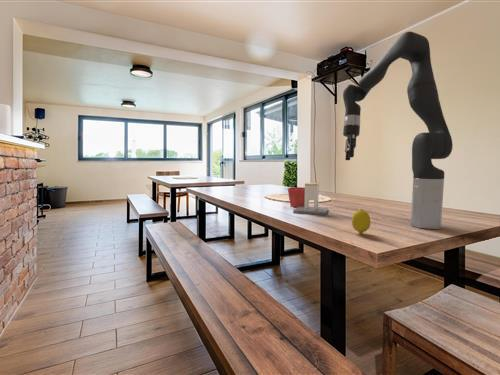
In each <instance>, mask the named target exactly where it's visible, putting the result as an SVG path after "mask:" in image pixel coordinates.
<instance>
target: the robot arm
mask: <svg viewBox="0 0 500 375" xmlns="http://www.w3.org/2000/svg"><path fill="white" fill-rule="evenodd" d="M431 58H432V57H431V48H430V41H429V40H428V38H427V37H426V36H424V35H422V34H420V33H418V32H413V31H406V32H404V33H402V34H401V35H400V36H399V37H398V38H397V39H396V40H395V41H394V42H393V43H392V44H391V46H390V47H389V48H388V49H387V50H386V52H385V53H384V54H383V55H382V56H381V58H380V59H379V60H378V61H377V62H376V63H375V64H374V66H373V67H371V68H370V69H369V70H368V71H367V72H366V73H364V75H363V76H361V77H360V78H359V80H358V85H355V84H347V85H346V86H345V87H344V89H343V92H342V98H343V104H344V109H345V110H344V111H345V112H344V113H345V114H344V120H343V131H342V136H344V137H346V140H345V148H344V152H345V158H344V159H345V161H350V160H351V158H354V156H355V149H356V147H357V137H359V136H360V133H361V132H360V131H361V130H360V129H361V111H362V110H361V109H362V106H360V104H359V102H361V101H363V100H364V99H365V98H366V96H367V95H368V94H369V93H370V91H371V90H372V89H374V87H376V86H377V85H378V84H379V83H380V82H381V81H382V80H384V78H385V76H386V74H387V71H388V69H389V67H390V66H391V65H392V64H393V63H394V62H396V60H399V59H403V60H406V61H408V62H409V63H410V67H411V71H412V73H411V74H412V75H411V78H410V79H409V82H408V85H407V88H406V92H407V93H406V94H407V97H408V98H407V99H408V103H409V106H410V108H411V110H412V112H414V113H415V114H416V115H417V117H418V118H420V119H421V121H422V122H423V123H424V124H425V126H426V128H427V130H428V132H419V133H418V134H417V135H415V137H414V138H413V141H412V143H411V144H412V146H411V169H412V175H413V176H412V178H413V179H412V192H411V194H412V195H411V196H412V197H411V198H412V199H411V210H410V212H411V213H410V214H411V216H410V225H411V226H413V227H415V228H418V229H431V230H440V229H442V219H443V216H442V215H443V202H444V200H443V199H444V188H445V171H444V170H443V169H440V168H439V167H436V166H435V165H434V164H433V161H432V160H444V159H446V158H448V157H449V156H450V155H451V154H452V151H453V147H454V146H453V139H452V135H451V133H450V130H449V127H448V125H447V123H446V119H445V116H444V113H443V109H442V105H441V102H440V96H439V91H438V88H437V83H436V80H435V76H434V70H433V67H432V59H431Z"/></svg>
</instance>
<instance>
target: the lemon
mask: <svg viewBox="0 0 500 375" xmlns="http://www.w3.org/2000/svg"><path fill="white" fill-rule="evenodd" d="M371 223H372V222H371V217H370V215H369V213H368V212H367V211H365V210H364V209H363V208H360V209H359V210H357V211H355V212H354V213H353V214H352V217H351V226H352V228H353V229H354V230H355V231H356V232H358V233H359V235H361V234H363V233H364V232H367V231H368V230H369V229H370V227H371Z"/></svg>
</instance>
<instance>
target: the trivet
mask: <svg viewBox="0 0 500 375" xmlns="http://www.w3.org/2000/svg"><path fill="white" fill-rule="evenodd" d="M328 211H329V208H328V207H321V206H318V209H317V210H314V206H309V208H307V210H304V206H298V207H295V208H294V209H293V212H292V213H293V214H303V215H315V216H316V215H318V216H325V215H326V214H327V212H328Z"/></svg>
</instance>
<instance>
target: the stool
mask: <svg viewBox="0 0 500 375" xmlns="http://www.w3.org/2000/svg"><path fill="white" fill-rule="evenodd" d="M319 184H320V183H319V182H317V183H316V182H306V183H304V188H305V204H304V210H307V208H309V207H310V201H313V207H314V210H317V209H318V207H319V187H320V186H319Z"/></svg>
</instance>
